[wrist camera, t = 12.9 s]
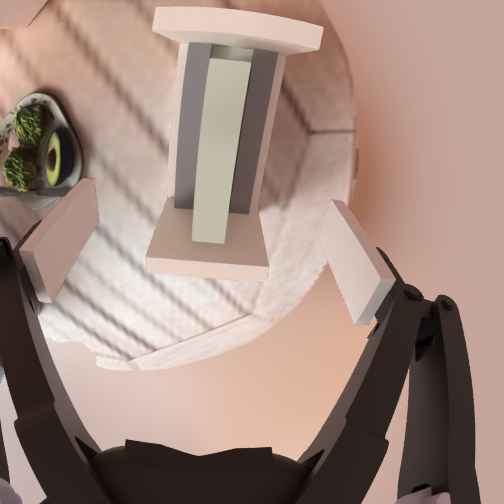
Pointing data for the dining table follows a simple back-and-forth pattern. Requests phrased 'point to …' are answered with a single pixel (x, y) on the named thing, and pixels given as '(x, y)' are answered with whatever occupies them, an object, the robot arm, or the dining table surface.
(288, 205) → the dining table surface
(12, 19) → the milk
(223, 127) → the door panel
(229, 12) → the cabinet base
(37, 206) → the salad plate
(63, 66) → the dining table surface
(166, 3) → the dining table surface
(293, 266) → the dining table surface
